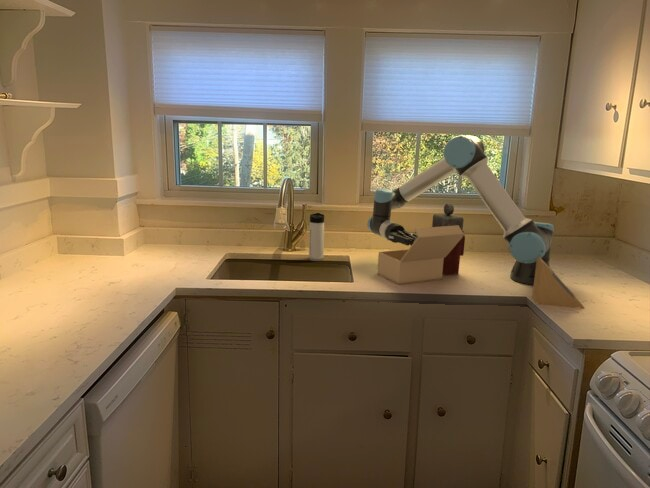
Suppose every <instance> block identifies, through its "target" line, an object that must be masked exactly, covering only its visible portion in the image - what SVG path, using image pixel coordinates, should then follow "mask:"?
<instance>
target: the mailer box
mask: <svg viewBox="0 0 650 488" xmlns="http://www.w3.org/2000/svg"><path fill="white" fill-rule="evenodd" d="M408 250H409V248H407V249H397V250H396V249H395V250H386V251H378V258H377V259H378V260H377V273H376V274H377V275H378V276H381V277H382V278H384V279H386V280H389V281H391V282H393V283H394V284H396V285H399V286H400V285H401V286H402V285H408V284H416V283H424V282H432V281H440V280H442V279H443V275H442V272H443V260H444V258H436V259H427V260H417V261H408V262H400V260H401V259H402V258H403V256H404V255H405V254H406V252H407V251H408Z"/></svg>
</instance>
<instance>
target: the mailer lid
mask: <svg viewBox="0 0 650 488" xmlns="http://www.w3.org/2000/svg"><path fill="white" fill-rule="evenodd" d="M414 231H415V233H417V235H418V237H417V239H416V240H415V241H414V243H413V244H412V246H411V245H410V247H409V248H408V249H409V250H408V251H407V252H406V254H405V255H404V256H403V258H402V259H401V260H400V262H408V261H417V260H427V259H436V258H445V257H446V256H447V255H448V254H449V253H450V251H451V250H452V249H453V248H454V247H455V246H456V244H457V243H458V242H459V241H460V240H461V239H462V237H463V236H464V235H466V232H464V233H463V232H462V230H461V229H460V227H459V225H456V226H442V227H432V226H431V227H415V228H414Z"/></svg>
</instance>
